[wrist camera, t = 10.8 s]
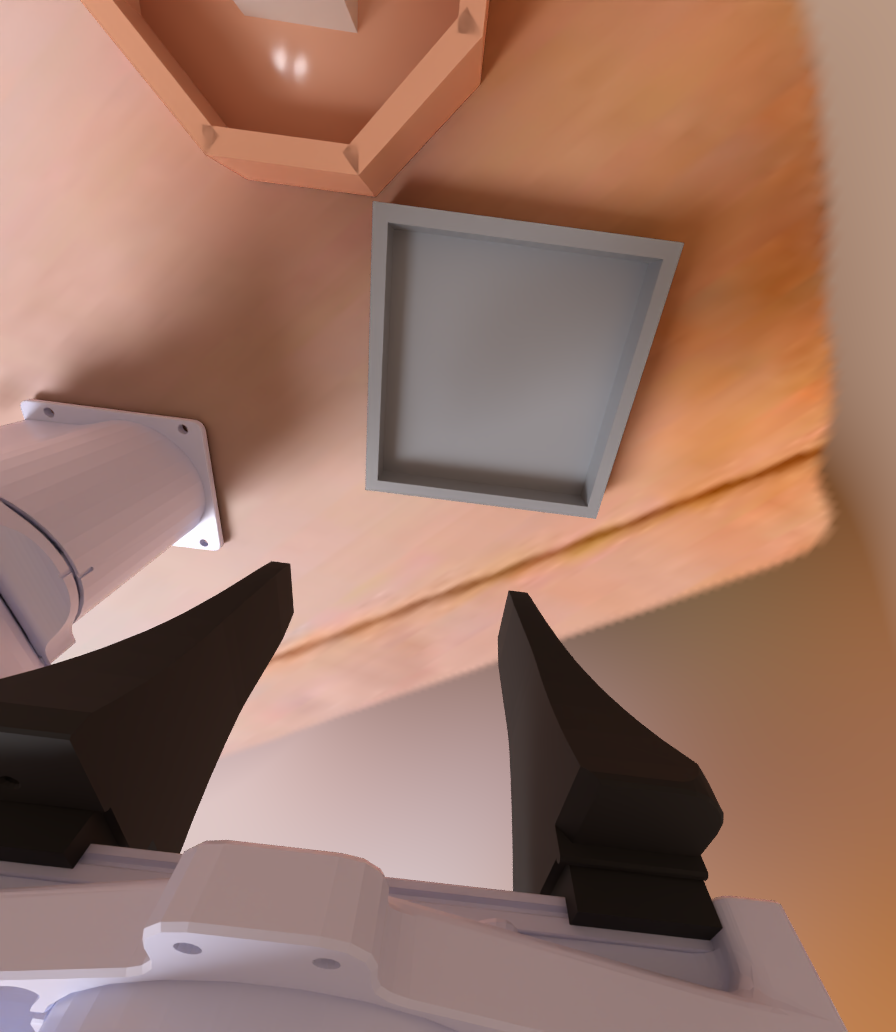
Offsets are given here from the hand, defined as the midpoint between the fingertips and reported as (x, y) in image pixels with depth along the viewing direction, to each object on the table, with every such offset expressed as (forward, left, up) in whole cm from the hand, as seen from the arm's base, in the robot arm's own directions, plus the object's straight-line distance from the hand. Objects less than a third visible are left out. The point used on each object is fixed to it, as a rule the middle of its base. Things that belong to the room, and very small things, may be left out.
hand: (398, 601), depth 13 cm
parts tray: (+3, +6, -10) cm, 12 cm away
